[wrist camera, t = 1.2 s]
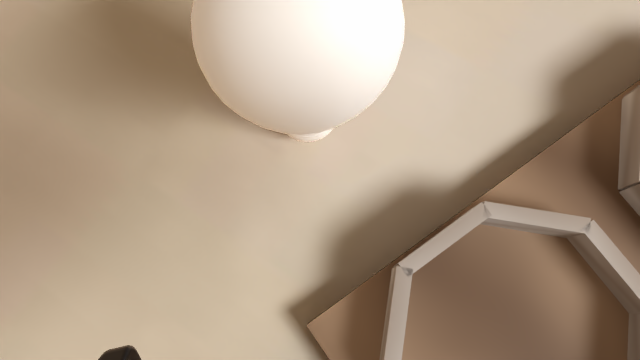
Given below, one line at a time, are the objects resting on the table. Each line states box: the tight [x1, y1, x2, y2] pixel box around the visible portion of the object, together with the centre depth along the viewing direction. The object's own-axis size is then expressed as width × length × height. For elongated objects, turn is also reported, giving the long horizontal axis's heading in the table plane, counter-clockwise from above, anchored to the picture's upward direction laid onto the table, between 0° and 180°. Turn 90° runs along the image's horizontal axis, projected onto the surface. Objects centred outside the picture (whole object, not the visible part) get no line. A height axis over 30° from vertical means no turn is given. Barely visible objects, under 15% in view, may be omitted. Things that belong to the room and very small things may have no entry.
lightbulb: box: [191, 0, 405, 142], centre depth 18 cm, size 6×6×11 cm
